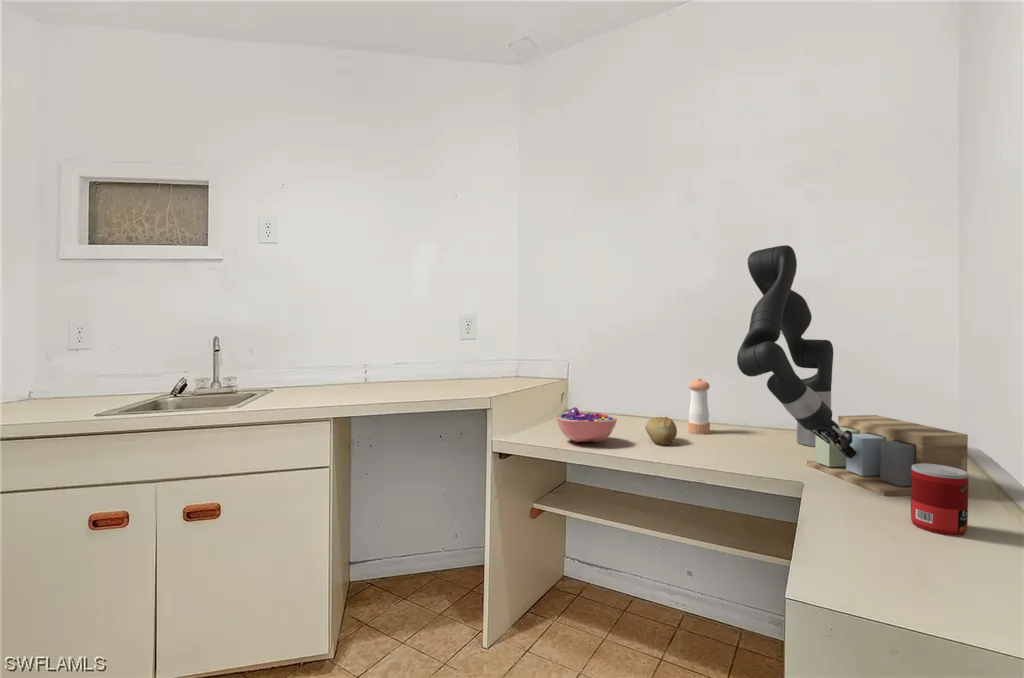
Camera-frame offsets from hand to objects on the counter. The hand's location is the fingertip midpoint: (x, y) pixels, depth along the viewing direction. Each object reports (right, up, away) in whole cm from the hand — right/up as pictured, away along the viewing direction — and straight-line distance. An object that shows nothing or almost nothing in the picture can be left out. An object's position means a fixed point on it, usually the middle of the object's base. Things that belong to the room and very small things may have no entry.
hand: (851, 455), depth 121 cm
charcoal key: (+8, -4, -7) cm, 12 cm away
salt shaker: (-17, -5, +55) cm, 57 cm away
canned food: (-5, -7, -30) cm, 31 cm away
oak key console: (+7, -6, +1) cm, 9 cm away
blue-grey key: (+6, -4, +1) cm, 7 cm away
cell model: (-59, -5, +40) cm, 72 cm away
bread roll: (-35, -5, +41) cm, 54 cm away
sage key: (+3, -4, +8) cm, 10 cm away
